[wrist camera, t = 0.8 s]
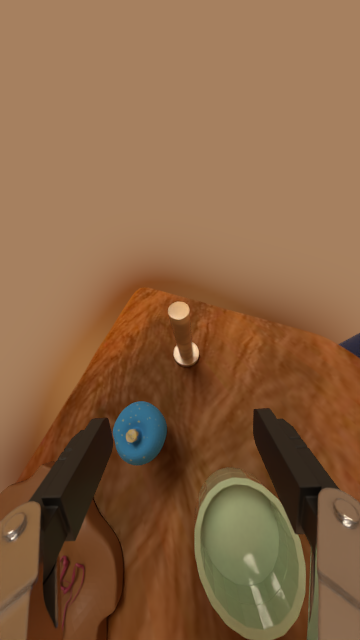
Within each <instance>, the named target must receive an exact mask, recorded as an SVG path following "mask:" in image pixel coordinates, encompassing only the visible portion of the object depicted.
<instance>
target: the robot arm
mask: <svg viewBox="0 0 360 640" xmlns="http://www.w3.org/2000/svg"><path fill="white" fill-rule="evenodd" d="M253 434H254V440H255V443H256V446H257V448H258V451H259V453H260V455H261V457H262V460H263V462H264V464H265V467H266V469H267V471H268V473H269V476H270V478H271V480H272V483H273V485H274V487H275V489H276V492H277V494H278V496H279V499H280V501H281V503H282V505H283V508H284V510H285V512H286V515H287V517H288V519H289V521H290V524H291V526H292V528H293V531H294V533H295V534H305V535H306V537H307V539H308V541H309V543H310V545H311V558H310V583H309V609H308V631H307V640H360V503H359V502H358V501H357V500H356V499H354V498H353V497H352V496H350V495H349V494H347V493H345V492H343V491H341V490H340V489H339V488H338V487H337V486H336V484H335V483H334V482H333V480H332V479H331V478H330V476H329V475H328V474H327V472H326V471H325V470H324V468H323V467H322V466H321V464H320V463H319V461H318V460H317V459H316V457H315V456H314V455H313V453H312V452H311V451H310V449H309V448H307V445H306V444H305V443H304V441H303V440H302V439H301V438H300V436H299V434H298V433H297V432H296V430H295V429H294V428H293V426H291V425H290V424H289V423H287V422H286V421H285V420H284V419H277V418H276V417H275V415H274V414H273V412H272V411H271V410H270V409H269V408H263V409H254V417H253ZM112 448H113V438H112V433H111V429H110V424H109V420H108V418H95V419H92V420H91V421H90V422H89V424H88V426H87V427H86V429H85V430H81V431H80V432H79V433H78V434H76V435H75V436H74V437H73V438H72V439H71V440H70V442H69V443H68V445H67V446H66V448H65V449H64V452H62V453H61V455H60V456H59V458H58V461H56V462H55V464H54V465H53V467H52V468H51V469H50V471H49V472H48V474H47V475H46V477H45V478H44V480H43V481H42V483H41V484H40V485H39V487H38V488H37V490H36V491H35V493H34V494H33V496H32V497H31V498H30V500H29V501H28V502H26V503H24V504H22V505H20V506H18V507H17V508H15V509H14V510H12V511H11V512H10V513H9V514H8V515H6V516H5V517H4V518H3V519H2V520H1V522H0V640H63V633H62V611H61V581H60V557H59V553H60V551H61V548H62V546H63V544H64V542H65V541H76V538H77V536H78V534H79V531H80V529H81V526H82V524H83V521H84V519H85V516H86V514H87V511H88V509H89V507H90V504H91V502H92V499H93V497H94V494H95V492H96V489H97V487H98V484H99V482H100V480H101V477H102V475H103V472H104V470H105V467H106V465H107V462H108V460H109V457H110V455H111V452H112Z"/></svg>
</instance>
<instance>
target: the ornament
mask: <svg viewBox="0 0 360 640" xmlns="http://www.w3.org/2000/svg"><path fill="white" fill-rule="evenodd" d="M166 434H167V425H166V421H165V418H164V417H163V415H162V414H161V412H160V411H159V410H158V409H157V408H156V407H155V406H154V405H152V404H150V403H147V402H143V401H140V402H135V403H133V404H130V405H129V406H127V407H126V408H125V409H124V410H123V411H122V412H121V414H120V415H119V417H118V418H117V420H116V423H115V425H114V428H113V436H114V440H115V444H116V449H117V452H118V454H119V455H120V457H121V458H122V459H123V460H124V461H125V462H127V463H129V464H132V465H143V464H146V463H148V462H150V461H152V460H153V459H154V458H155V457H156V456H157V455H158V454H159V452H160V450H161V449H162V447H163V444H164V441H165V439H166Z"/></svg>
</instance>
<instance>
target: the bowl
mask: <svg viewBox="0 0 360 640" xmlns="http://www.w3.org/2000/svg"><path fill="white" fill-rule="evenodd" d="M195 558H196V563H197V568H198V572H199V577H200V580H201V583H202V585H203V587H204V590H205V592H206V594H207V596H208V599H209V601H210V603H211V605H212V606H213V608H214V609H215V610H216V612H217V613H218V614H219V616H220V617H221V618H222V620H223V621H224V622H225V624H226V625H227V626H229V627H230V628H232V629H233V630H234V631H236V632H237V633H239V634H240V635H241V636H243V637H244V638H246V639H250V640H273V639H276V638H278V637H281V636H283V635H284V634H286V632H287V631H288V630H289V629H290V627H291V626H292V625H293V624H294V622H295V621H296V620H297V618H298V616H299V613H300V610H301V607H302V603H303V600H304V597H305V584H306V566H305V561H304V556H303V551H302V546H301V541H300V538H299V536H298V534H295V533H294V531H293V528H292V526H291V524H290V521H289V519H288V517H287V515H286V512H285V510H284V508H283V506H282V504H281V503H280V501H279V500H278V499H277V498H276V497H275V496H274V495H273V494H272V493H271V492H270V491H269V490H268V489H267V488H266V487H265V486H264V485H263V484H262V483H261V482H260V481H259V480H258V479H257V478H255V477H254V476H253V475H252V474H250V473H248V472H246V471H244V470H242V469H238V468H231V467H230V468H223V469H220V470H218V471H216V472H214V473H213V474H212V475H211V476H210V477H208V479H207V480H206V481H205V483H204V484H203V486H202V488H201V490H200V492H199V495H198V499H197V503H196V508H195Z"/></svg>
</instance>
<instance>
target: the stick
mask: <svg viewBox="0 0 360 640" xmlns="http://www.w3.org/2000/svg"><path fill="white" fill-rule="evenodd" d="M168 314H169V318H170V322H171V325H172V329H173V332H174V336H175V339H176V343H177V345H176V347H175V349H174V358H175V360H176V362H177V363H178V364H179V365H181V366H184V367H189V366H192V365H194V364H195V363H196V362H197V360H198V358H199V350H198V347H197V346H196V345H195V344H194V343H192V336H191V323H190V310H189V307H188V305H187V304H186V303H184V302H175V303H173V304H171V305H170V307H169V309H168Z"/></svg>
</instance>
